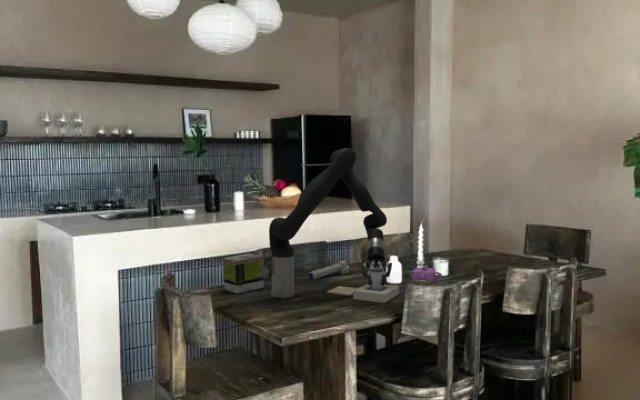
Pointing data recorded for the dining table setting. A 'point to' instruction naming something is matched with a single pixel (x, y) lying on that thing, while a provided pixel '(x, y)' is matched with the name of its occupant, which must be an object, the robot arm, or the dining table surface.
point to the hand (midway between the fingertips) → (376, 284)
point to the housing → (376, 293)
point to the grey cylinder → (329, 270)
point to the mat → (342, 290)
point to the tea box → (243, 273)
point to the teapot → (425, 274)
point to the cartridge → (376, 278)
